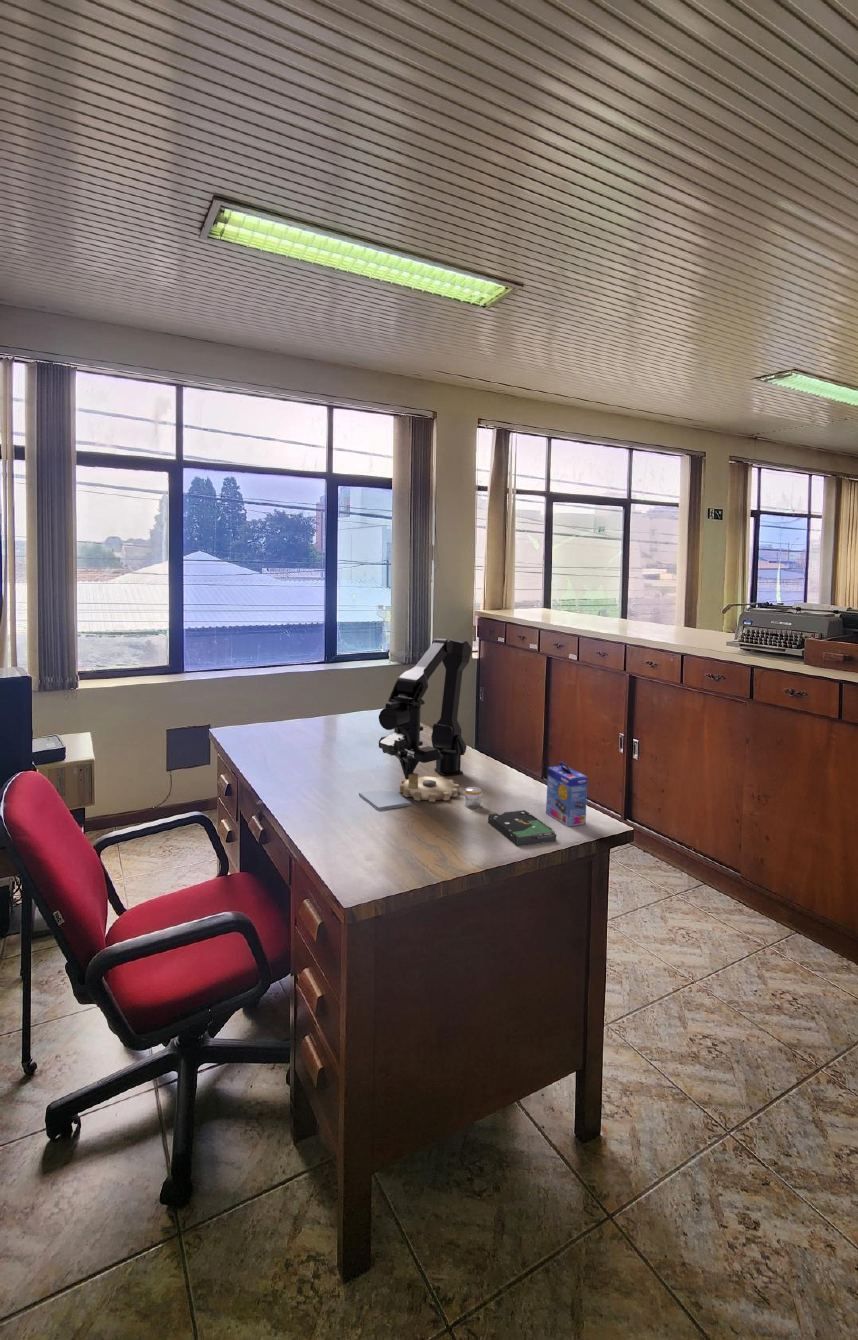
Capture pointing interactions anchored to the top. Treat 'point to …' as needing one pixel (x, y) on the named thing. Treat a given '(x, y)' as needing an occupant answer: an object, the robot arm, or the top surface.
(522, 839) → the disk drive
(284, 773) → the top surface
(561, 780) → the ink cartridge box
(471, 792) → the small glass jar
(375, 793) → the slate pad
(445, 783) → the sprocket wheel
